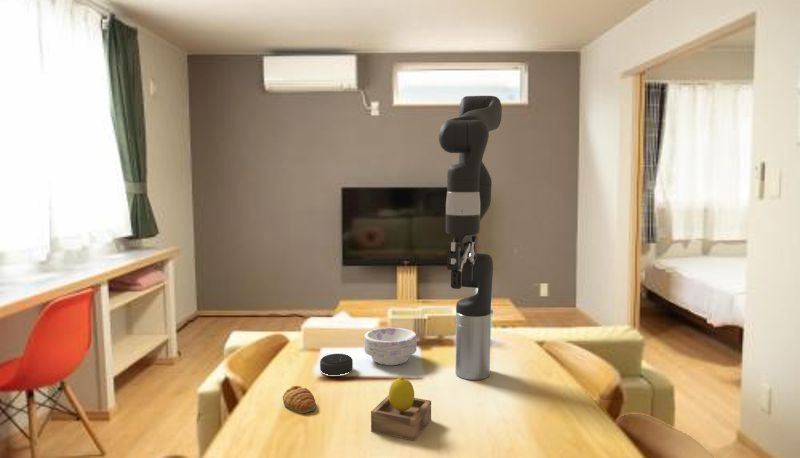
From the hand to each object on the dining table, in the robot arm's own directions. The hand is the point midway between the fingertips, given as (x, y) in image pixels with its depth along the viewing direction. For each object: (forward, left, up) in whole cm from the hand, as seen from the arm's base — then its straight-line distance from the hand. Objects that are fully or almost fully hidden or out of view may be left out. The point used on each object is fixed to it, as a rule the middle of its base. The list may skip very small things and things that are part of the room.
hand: (462, 284), depth 123 cm
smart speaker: (-11, -39, -30) cm, 51 cm away
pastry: (+11, -36, -31) cm, 49 cm away
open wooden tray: (+11, -10, -30) cm, 34 cm away
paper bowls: (-25, -29, -30) cm, 49 cm away
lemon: (+11, -10, -27) cm, 31 cm away
